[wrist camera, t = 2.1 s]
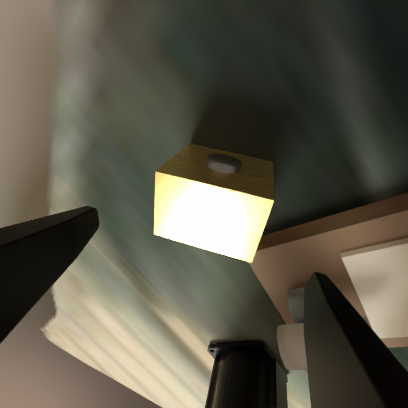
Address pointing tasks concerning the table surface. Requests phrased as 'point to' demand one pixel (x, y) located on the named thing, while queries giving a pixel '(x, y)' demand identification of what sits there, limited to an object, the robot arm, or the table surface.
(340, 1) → the table surface
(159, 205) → the yellow knobbed block
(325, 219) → the base plate
